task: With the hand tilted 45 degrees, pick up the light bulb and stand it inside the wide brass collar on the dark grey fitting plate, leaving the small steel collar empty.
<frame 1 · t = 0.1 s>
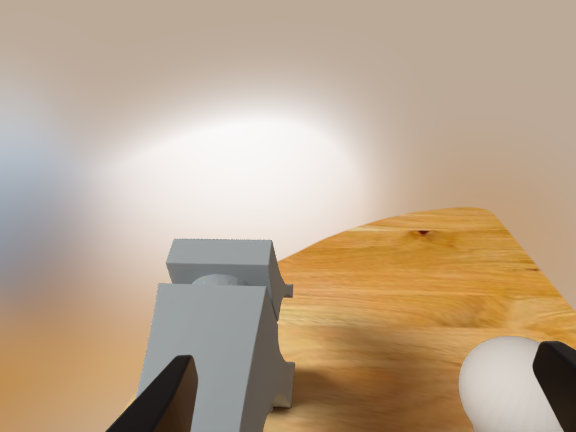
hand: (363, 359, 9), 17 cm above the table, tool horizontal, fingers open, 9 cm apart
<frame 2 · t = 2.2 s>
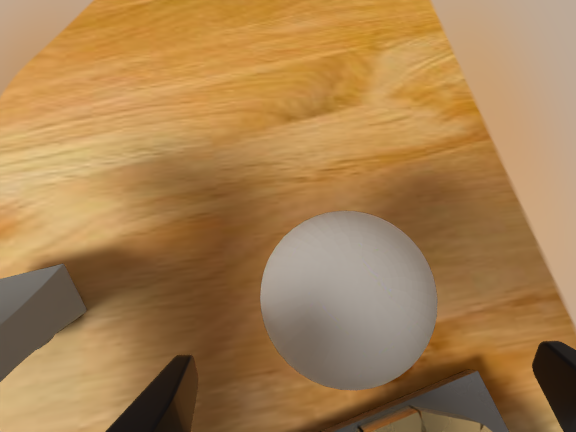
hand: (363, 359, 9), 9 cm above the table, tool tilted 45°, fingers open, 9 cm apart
light bulb: (328, 312, 19), on the table
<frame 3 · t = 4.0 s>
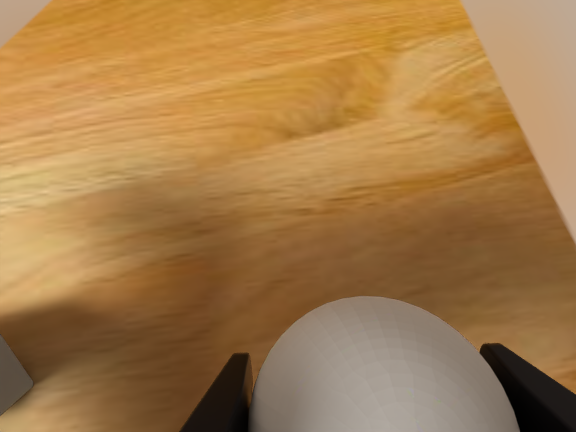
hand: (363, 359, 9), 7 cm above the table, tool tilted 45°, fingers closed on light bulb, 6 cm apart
light bulb: (339, 385, 15), on the table, touching gripper
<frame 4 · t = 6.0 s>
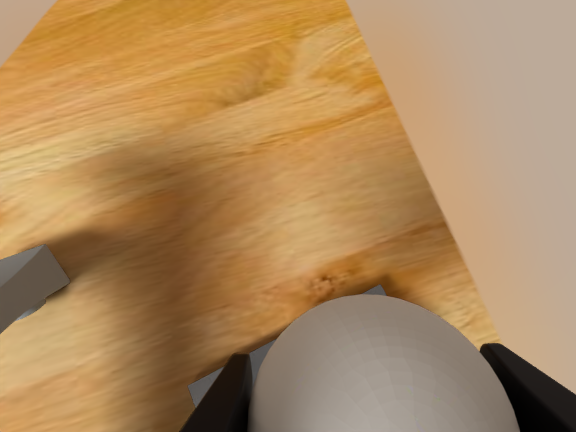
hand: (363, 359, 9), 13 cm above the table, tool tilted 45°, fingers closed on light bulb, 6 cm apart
light bulb: (339, 384, 15), point 6 cm above the table, touching gripper
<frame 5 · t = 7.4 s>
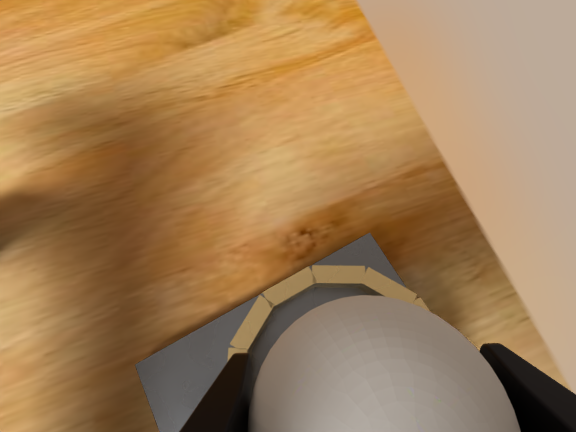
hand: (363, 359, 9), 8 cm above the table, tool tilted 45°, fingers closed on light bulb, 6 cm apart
light bulb: (339, 384, 15), point 2 cm above the table, touching gripper
when the fingers open (8 cm above the table, at t = 8.2 s): light bulb stays where it is, resting on fitting plate.
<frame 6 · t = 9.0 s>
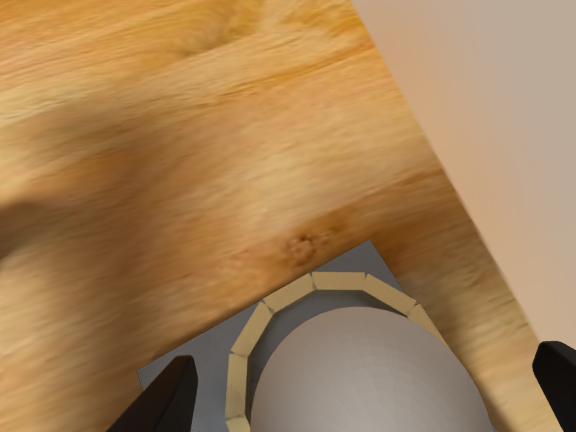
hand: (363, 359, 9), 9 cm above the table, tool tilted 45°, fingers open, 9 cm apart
light bulb: (338, 387, 16), point 1 cm above the table, touching fitting plate
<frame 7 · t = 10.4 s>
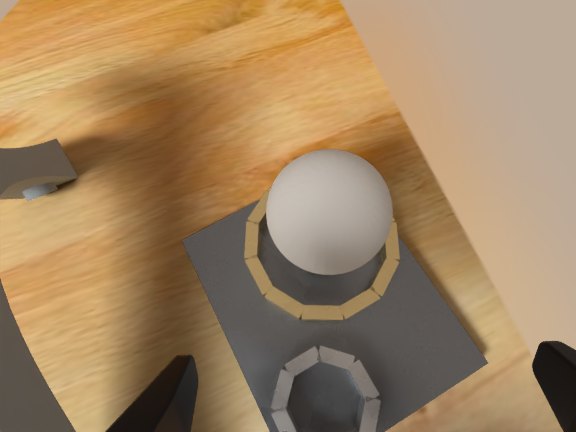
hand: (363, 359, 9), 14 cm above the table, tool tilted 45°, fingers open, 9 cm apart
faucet: (83, 342, 23), on the table
fitting plate: (322, 298, 23), on the table
light bulb: (319, 249, 23), point 1 cm above the table, touching fitting plate
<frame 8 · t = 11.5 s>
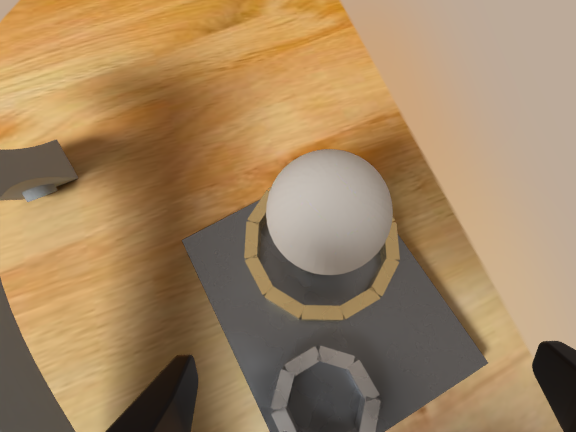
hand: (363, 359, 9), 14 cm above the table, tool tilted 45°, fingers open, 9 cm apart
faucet: (83, 343, 23), on the table
fitting plate: (322, 298, 23), on the table
light bulb: (319, 249, 23), point 1 cm above the table, touching fitting plate
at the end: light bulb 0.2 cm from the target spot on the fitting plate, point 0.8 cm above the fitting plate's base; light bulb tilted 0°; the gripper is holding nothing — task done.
